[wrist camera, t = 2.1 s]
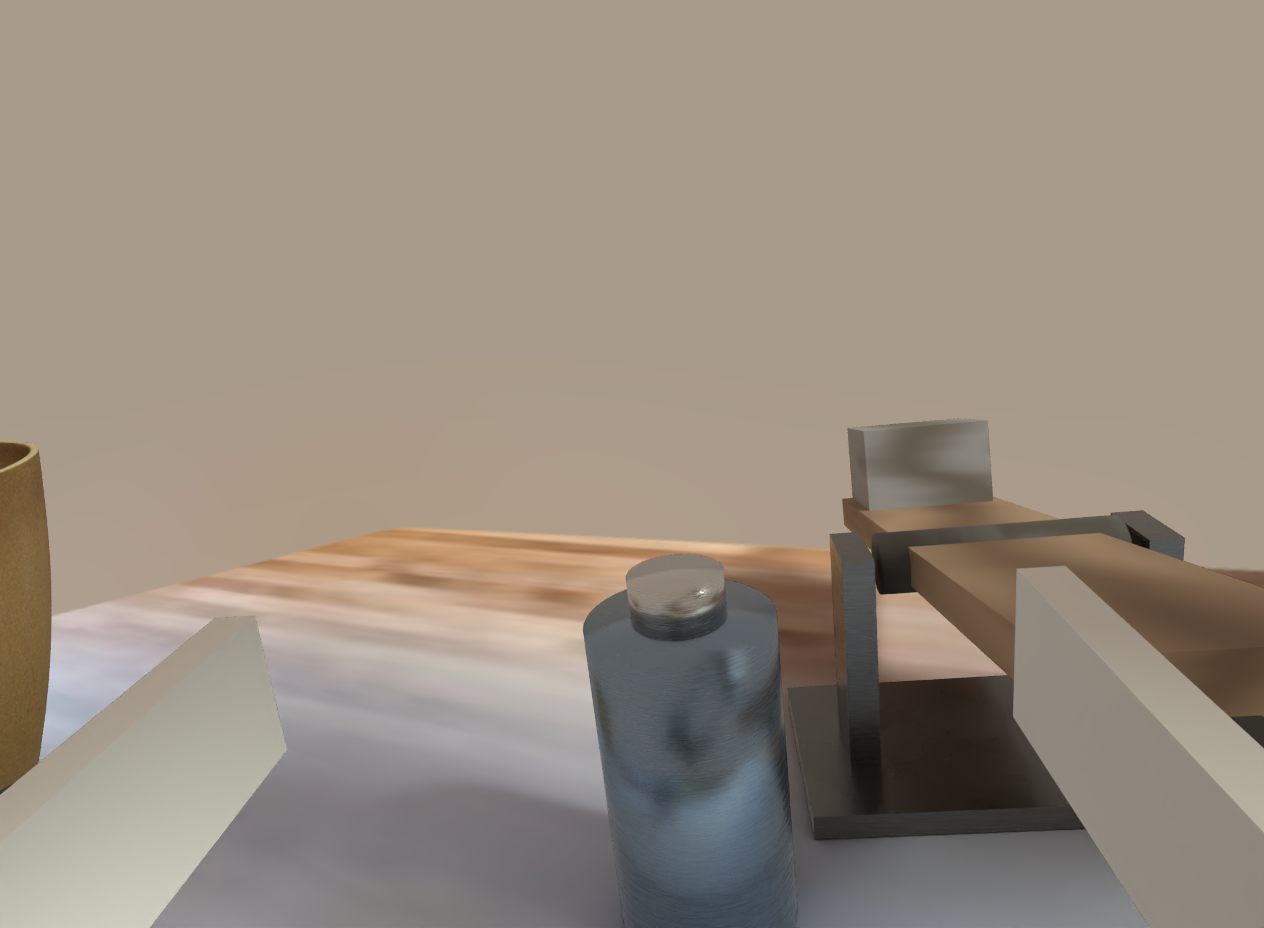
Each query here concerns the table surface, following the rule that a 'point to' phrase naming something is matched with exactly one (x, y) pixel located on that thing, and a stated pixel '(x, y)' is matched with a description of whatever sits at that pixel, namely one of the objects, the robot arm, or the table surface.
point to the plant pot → (23, 609)
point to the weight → (693, 748)
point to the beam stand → (921, 730)
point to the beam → (1037, 559)
